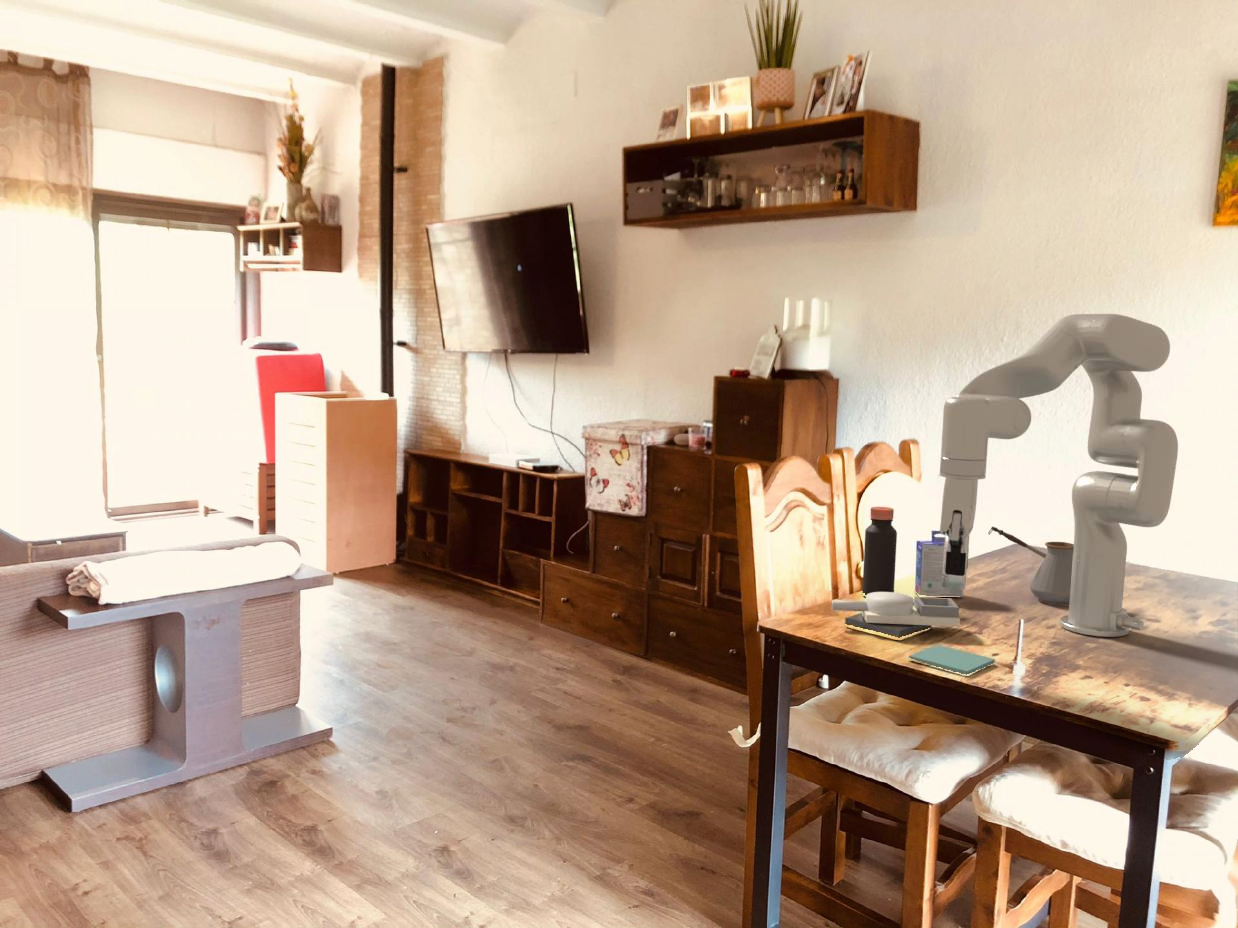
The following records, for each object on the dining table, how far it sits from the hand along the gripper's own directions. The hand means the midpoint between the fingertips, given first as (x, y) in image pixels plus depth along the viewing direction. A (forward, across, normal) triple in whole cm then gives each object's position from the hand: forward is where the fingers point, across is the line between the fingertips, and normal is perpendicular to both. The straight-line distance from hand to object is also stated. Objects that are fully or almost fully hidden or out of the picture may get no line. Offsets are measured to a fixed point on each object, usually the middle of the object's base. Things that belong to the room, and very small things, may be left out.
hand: (956, 571), depth 174 cm
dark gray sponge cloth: (+17, -17, -14) cm, 27 cm away
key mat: (+17, 0, 0) cm, 17 cm away
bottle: (+17, -41, -20) cm, 48 cm away
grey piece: (+3, 0, 0) cm, 3 cm away
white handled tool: (+14, -17, -13) cm, 26 cm away
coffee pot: (+16, -57, +12) cm, 61 cm away
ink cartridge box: (+17, -49, -8) cm, 52 cm away
